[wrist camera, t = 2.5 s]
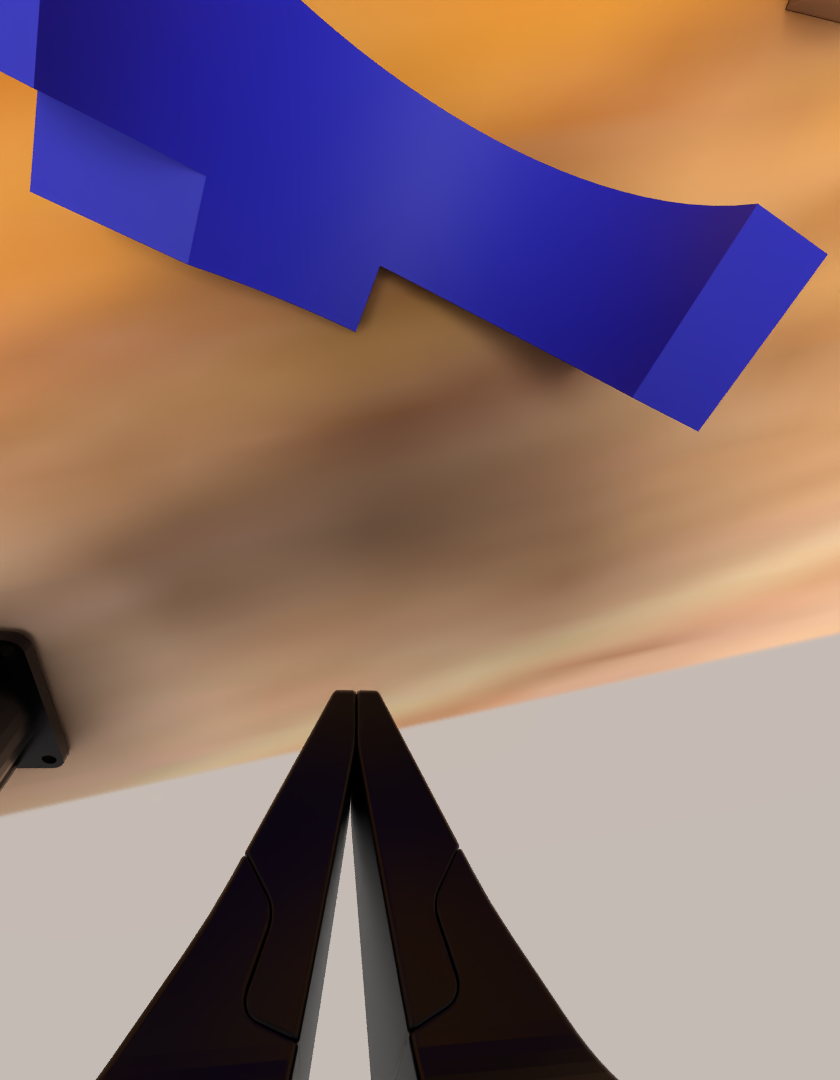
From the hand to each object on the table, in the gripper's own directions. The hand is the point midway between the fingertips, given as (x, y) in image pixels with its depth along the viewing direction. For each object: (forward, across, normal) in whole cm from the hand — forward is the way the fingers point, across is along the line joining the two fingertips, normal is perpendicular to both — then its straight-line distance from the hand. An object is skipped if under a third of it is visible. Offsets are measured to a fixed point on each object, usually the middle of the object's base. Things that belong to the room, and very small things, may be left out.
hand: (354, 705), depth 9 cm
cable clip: (+8, 0, -8) cm, 11 cm away
